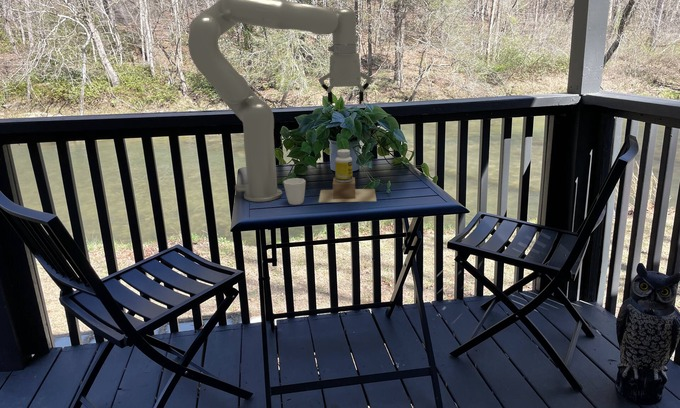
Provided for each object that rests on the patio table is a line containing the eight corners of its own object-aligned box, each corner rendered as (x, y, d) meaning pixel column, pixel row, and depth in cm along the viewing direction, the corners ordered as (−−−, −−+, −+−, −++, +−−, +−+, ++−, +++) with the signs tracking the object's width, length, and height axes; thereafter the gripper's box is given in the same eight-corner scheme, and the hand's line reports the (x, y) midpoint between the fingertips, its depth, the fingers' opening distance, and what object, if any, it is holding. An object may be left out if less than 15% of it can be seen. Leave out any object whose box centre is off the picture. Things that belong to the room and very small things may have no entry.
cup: (282, 209, 161) (280, 184, 159) (288, 199, 171) (287, 175, 168) (305, 209, 161) (303, 184, 158) (310, 199, 170) (309, 175, 167)
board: (318, 205, 164) (318, 202, 164) (320, 192, 176) (320, 189, 176) (376, 204, 164) (376, 201, 163) (374, 191, 176) (374, 188, 176)
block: (333, 199, 166) (332, 183, 165) (333, 192, 173) (333, 177, 172) (355, 198, 166) (355, 183, 165) (355, 191, 173) (354, 177, 171)
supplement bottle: (351, 183, 165) (350, 152, 162) (334, 182, 166) (333, 152, 163) (354, 178, 170) (353, 148, 167) (337, 178, 171) (336, 148, 168)
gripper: (316, 51, 165) (319, 106, 171) (371, 50, 165) (372, 105, 170) (318, 50, 172) (320, 103, 178) (371, 49, 172) (371, 101, 178)
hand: (345, 103), depth 174 cm, fingers open, 9 cm apart
